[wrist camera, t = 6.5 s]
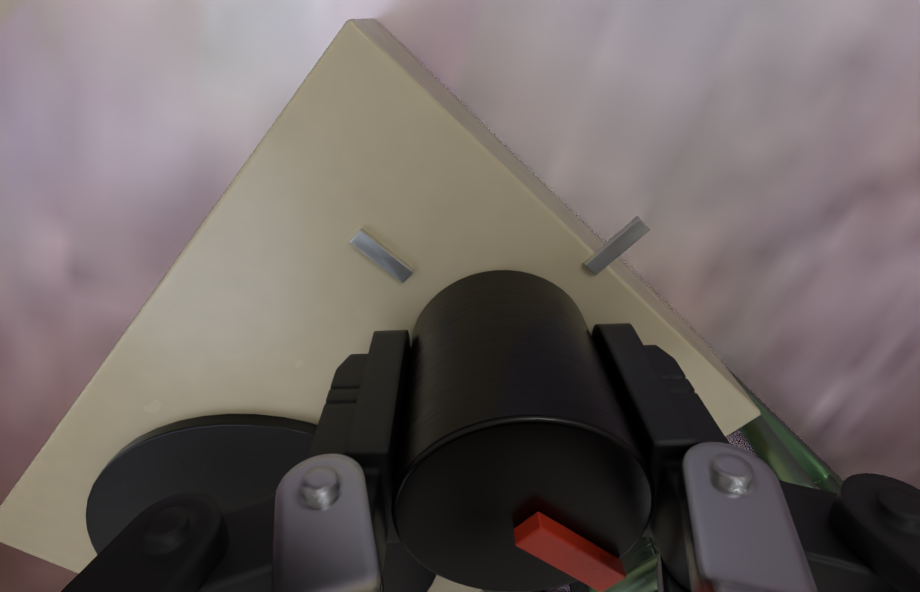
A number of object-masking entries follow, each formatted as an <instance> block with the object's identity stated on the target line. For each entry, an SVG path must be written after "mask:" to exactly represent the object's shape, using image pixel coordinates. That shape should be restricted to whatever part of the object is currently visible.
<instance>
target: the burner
mask: <svg viewBox="0 0 920 592" xmlns="http://www.w3.org/2000/svg"><path fill="white" fill-rule="evenodd" d="M316 428H317V425H316V424H313V423H310V422H305V421H300V420H296V419H291V418H286V417H280V416H270V415H261V414H219V415H208V416H200V417H195V418H190V419H185V420H180V421H177V422H174V423H171V424H168V425H165V426H162V427H159V428H156V429H154V430H152V431H150V432H148V433H146V434H144V435H142V436H140V437H138V438H136V439H135V440H134V441H132V442H131V443H129V444H128V445H126V446H125V447H123V448H122V449H121V450H120V451H119V452H118V453H117V454H116V455H115V456H114V457H113V458H112V459H111V460H110V461H109V462H108V463H107V465H106V466H105V467H104V469H103V470H102V471H101V473H100V474H99V476H98V477H97V479H96V480H95V482H94V483H93V485H92V488H91V491H90V494H89V496H88V499H87V507H86V525H87V531H88V534H89V537H90V541H91V544H92V546H93V548H94V550H95V551H96V553H97V555H98V554H99V553H100V552H101V551H102V550H103V549H104V548H105V547H106V546H107V545H108V544H109V543H110V542H111V541H112V540H113V539H114V538H115V537H116V536H117V535H118V534H119V533H120V532H121V531H122V530H123V529H124V528H125V527H126V526H127V525H128V524H129V523H130V522H131V521H132V520H133V519H134V518H135V517H136V516H138V515H139V514H140V513H141V512H142V511H144V510H145V509H146V508H148V507H149V506H151V505H153V504H154V503H156V502H158V501H160V500H162V499H164V498H167V497H170V496H172V495H176V494H180V493H186V492H199V493H204V494H207V495H209V496H211V497H212V498H213V499H215V501H216V502H217V503H218V505H219V508H220V510H222V509H226V508H229V507H232V506H236V505H239V504H242V503H246V502H249V501H252V500H256V499H259V498H262V497H264V496H267V495H269V494H271V493H273V492H275V491H276V490H277V488H278V485H279V483H280V482H281V480H282V478H283V477H284V476H285V475H286V474H287V473H288V472H289V471H290V470H291V469H292V468H293V467H295V466H296V465H297V464H299V463H301V462H302V461H304V460H306V458H307V455H308V452H309V449H310V446H311V443H312V440H313V437H314V434H315V431H316ZM436 575H437V574H435V573H433V572H431V571H430V570H428V569H427V568H425V567H424V566H423V565H421V564H420V563H419V562H417V561H416V560H415V559H414V558H413V557H412V556H411V555H410V554H409V553H408V551H407V550H406V549H405V547H404V546H403V545H402V543H390V544H386V551H385V559H384V567H383V572H382V577H383V583H384V590H385V592H427V591H428V590H429V589H430V587H431V586H432V584H433V582H434V579H435V577H436Z"/></svg>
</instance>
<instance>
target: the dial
mask: <svg viewBox="0 0 920 592" xmlns="http://www.w3.org/2000/svg"><path fill="white" fill-rule="evenodd" d="M654 498H655V490H654V483H653V479H652V476H651V473H650V470H649V468H648V466H647V463H646V461H645V459H644V456H643V454H642V452H641V449H640V447H639V445H638V442H637V440H636V438H635V435H634V433H633V431H632V429H631V426H630V424H629V422H628V419H627V417H626V415H625V412H624V410H623V408H622V405H621V403H620V401H619V399H618V396H617V394H616V392H615V389H614V387H613V385H612V382H611V380H610V378H609V375H608V373H607V371H606V368H605V366H604V364H603V362H602V359H601V357H600V355H599V352H598V350H597V348H596V345H595V343H594V341H593V338H592V336H591V334H590V331H589V329H588V327H587V325H586V322H585V320H584V318H583V315H582V313H581V311H580V310H579V308H578V306H577V305H576V303H575V302H574V301H573V300H572V298H571V297H570V296H569V295H568V294H567V293H566V292H565V291H564V290H562V289H561V288H560V287H558V286H557V285H555V284H554V283H552V282H550V281H548V280H546V279H544V278H542V277H539V276H536V275H533V274H530V273H526V272H521V271H513V270H493V271H486V272H480V273H477V274H473V275H470V276H467V277H465V278H462V279H460V280H458V281H456V282H454V283H452V284H450V285H449V286H447V287H446V288H444V289H443V290H442V291H440V292H439V293H438V294H437V295H436V296H435V297H434V298H432V299H431V300H430V302H429V303H428V304H427V305H426V307H425V308H424V309H423V311H422V313H421V314H420V316H419V318H418V320H417V322H416V325H415V328H414V332H413V336H412V343H411V351H410V359H409V367H408V375H407V383H406V391H405V399H404V406H403V414H402V422H401V430H400V438H399V446H398V454H397V462H396V470H395V478H394V486H393V493H392V504H391V513H392V521H393V524H394V527H395V530H396V533H397V536H398V537H399V539H400V541H401V543H402V545H403V546H404V547H405V549H406V550H407V551H408V553H409V554H410V555H411V556H412V557H413V558H414V559H415V560H416V561H417V562H419V563H420V564H421V565H423V566H424V567H425V568H427V569H428V570H430V571H431V572H433V573H435V574H437V575H439V576H440V577H443V578H445V579H447V580H450V581H452V582H455V583H458V584H461V585H464V586H468V587H473V588H477V589H482V590H490V591H500V592H527V591H538V590H544V589H550V588H556V587H560V586H563V585H567V584H571V583H574V582H577V581H581V582H583V583H585V584H587V585H588V586H590V587H592V588H594V589H596V590H598V591H599V592H603V591H604V590H606V589H608V588H609V587H611V586H613V585H614V584H616V583H618V582H619V581H621V580H623V579H624V578H626V573H625V569H624V566H623V563H622V561H621V559H620V558H622V557H623V556H624V555H625V554H626V553H627V552H628V551H630V550H631V549H632V548H633V546H634V545H635V544H636V543H637V542H638V541H639V540H640V538H641V537H642V535H643V534H644V532H645V531H646V529H647V526H648V524H649V522H650V520H651V517H652V513H653V509H654Z"/></svg>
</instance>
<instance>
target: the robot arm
mask: <svg viewBox="0 0 920 592" xmlns="http://www.w3.org/2000/svg"><path fill="white" fill-rule="evenodd" d="M592 338H593V341H594V343H595V345H596V348H597V350H598V352H599V355H600V357H601V359H602V362H603V364H604V366H605V368H606V371H607V373H608V375H609V378H610V380H611V382H612V385H613V387H614V389H615V392H616V394H617V396H618V399H619V401H620V403H621V405H622V408H623V410H624V412H625V415H626V417H627V419H628V422H629V424H630V426H631V429H632V431H633V433H634V435H635V438H636V440H637V442H638V445H639V447H640V449H641V452H642V454H643V456H644V459H645V461H646V463H647V466H648V468H649V470H650V473H651V476H652V479H653V483H654V490H655V498H654V509H653V513H652V517H651V520H650V522H649V524H648V526H647V529H646V531H645V532H644V534H643V535H642V537H654V538H655V541H656V543H657V546H658V549H659V551H660V552H659V555H658V559H657V563H656V577H657V591H658V592H920V490H919V489H917V488H915V487H914V486H911V485H909V484H907V483H905V482H903V481H900V480H897V479H894V478H891V477H887V476H884V475H878V474H868V473H864V474H856V475H852V476H850V477H848V478H847V479H846V480H845V481H844V482H843V484H842V486H841V488H840V490H839V492H838V493H833V492H829V491H824V490H820V489H815V488H810V487H806V486H801V485H797V484H792V483H788V482H785V481H781V480H779V479H778V478H777V476H776V475H775V473H774V472H773V470H772V469H771V468H770V467H769V466H768V465H767V464H766V463H765V462H764V461H762V460H761V459H760V458H758V457H757V456H755V455H754V454H752V453H750V452H749V451H747V450H744V449H742V448H740V447H737V446H734V445H731V444H730V443H729V442H728V440H727V439H726V437H725V436H724V434H723V432H722V431H721V429H720V428H719V426H718V425H717V423H716V422H715V420H714V419H713V417H712V415H711V414H710V412H709V411H708V409H707V408H706V406H705V405H704V403H703V402H702V400H701V398H700V397H699V395H698V394H697V393H695V389H694V388H693V386H692V385H691V383H690V381H689V380H688V379H686V375H685V374H684V372H683V371H682V369H681V368H680V366H679V364H678V363H677V361H676V360H675V359H674V358H673V357H672V356H670V355H669V354H668V353H666V352H665V351H664V350H662V349H661V348H660V347H658V346H657V345H643V343H642V341H641V340H640V338H639V336H638V335H637V333H636V331H635V329H634V328H633V326H632V325H631V324H630V323H614V324H595V325H594V327H593V330H592ZM410 351H411V349H410V339H409V332H408V330H384V331H374V333H373V337H372V341H371V345H370V349H369V353H368V354H350V355H349V356H348V357H347V358H346V359H345V361H344V362H343V363H342V364H341V365H340V366H339V367H338V368H337V369H336V371H335V374H334V377H333V380H332V383H331V389H330V390H329V392H328V395H327V398H326V404H324V407H323V410H322V413H321V416H320V419H319V422H318V425H317V428H316V431H315V434H314V437H313V440H312V443H311V446H310V449H309V452H308V455H307V458H306V460H304V461H302V462H301V463H299V464H297V465H296V466H295V467H293V468H292V469H291V470H290V471H289V472H288V473H287V474H286V475H285V476H284V477H283V478H282V480H281V482H280V483H279V485H278V488H277V490H276V491H275V492H273V493H271V494H269V495H267V496H264V497H262V498H259V499H256V500H252V501H249V502H246V503H242V504H239V505H236V506H232V507H229V508H226V509H222V510H220V508H219V505H218V503H217V502H216V501H215V499H213V498H212V497H211V496H209V495H207V494H204V493H199V492H186V493H180V494H176V495H172V496H170V497H167V498H164V499H162V500H160V501H158V502H156V503H154V504H153V505H151V506H149V507H148V508H146V509H145V510H144V511H142V512H141V513H140V514H139V515H138V516H136V517H135V518H134V519H133V520H132V521H131V522H130V523H129V524H128V525H127V526H126V527H125V528H124V529H123V530H122V531H121V532H120V533H119V534H118V535H117V536H116V537H115V538H114V539H113V540H112V541H111V542H110V543H109V544H108V545H107V546H106V547H105V548H104V549H103V550H102V551H101V552H100V553H99V554H98V555H97V556H96V557H95V558H94V559H93V560H92V561H91V562H90V563H89V564H88V565H87V566H86V567H85V568H84V569H83V570H82V571H81V572H80V573H79V574H78V575H77V576H76V577H75V578H74V579H73V580H72V581H71V582H70V583H69V584H68V585H67V586H66V587H65V588H64V589H63V590H62V591H61V592H385V590H384V583H383V577H382V572H383V567H384V559H385V551H386V544H390V543H401V541H400V539H399V537H398V536H397V533H396V530H395V527H394V524H393V521H392V513H391V504H392V493H393V486H394V478H395V470H396V462H397V454H398V446H399V438H400V430H401V422H402V414H403V406H404V399H405V391H406V383H407V375H408V367H409V359H410Z"/></svg>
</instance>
